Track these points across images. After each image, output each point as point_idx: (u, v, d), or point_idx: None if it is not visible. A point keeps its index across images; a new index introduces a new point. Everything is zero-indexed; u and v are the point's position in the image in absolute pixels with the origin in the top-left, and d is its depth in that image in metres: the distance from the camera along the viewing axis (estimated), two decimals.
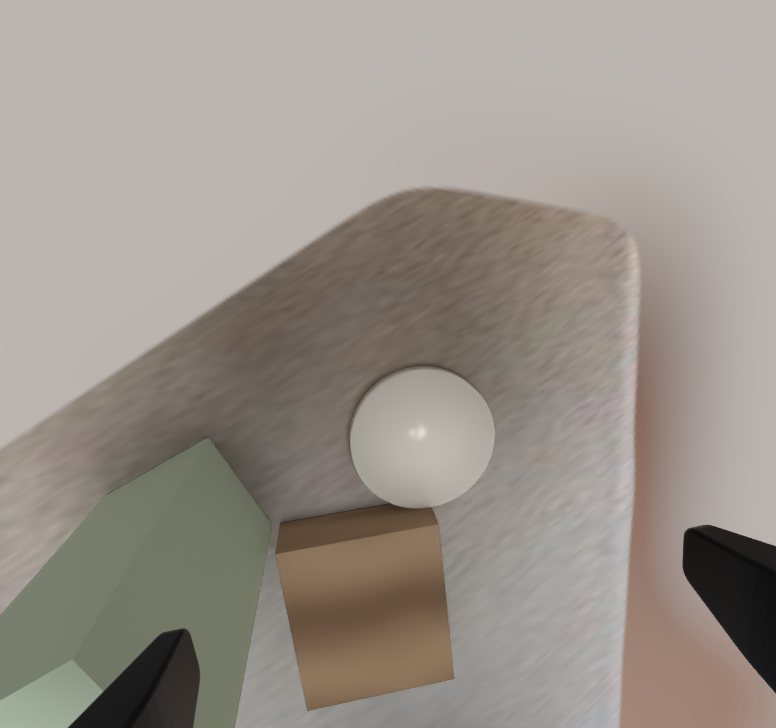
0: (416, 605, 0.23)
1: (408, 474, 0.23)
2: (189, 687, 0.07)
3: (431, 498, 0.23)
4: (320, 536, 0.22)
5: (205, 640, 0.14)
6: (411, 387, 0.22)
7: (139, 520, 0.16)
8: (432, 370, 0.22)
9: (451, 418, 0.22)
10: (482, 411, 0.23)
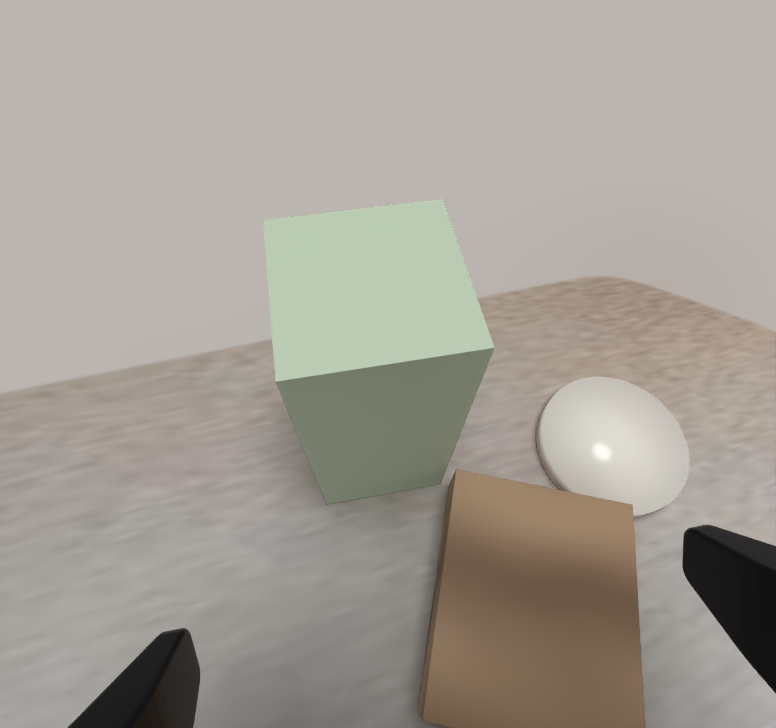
0: (598, 604, 0.18)
1: (595, 467, 0.22)
2: (189, 687, 0.07)
3: None
4: None
5: None
6: (606, 389, 0.24)
7: None
8: None
9: (643, 427, 0.23)
10: (675, 431, 0.23)
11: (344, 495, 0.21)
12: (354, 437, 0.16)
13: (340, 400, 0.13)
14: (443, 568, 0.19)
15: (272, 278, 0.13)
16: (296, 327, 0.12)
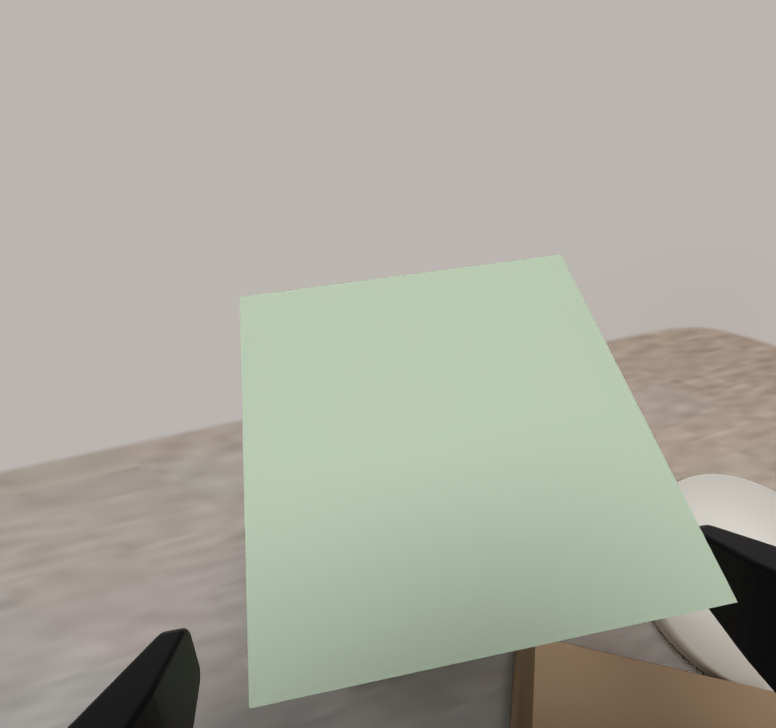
0: None
1: None
2: (189, 687, 0.07)
3: None
4: None
5: None
6: (727, 492, 0.18)
7: None
8: None
9: None
10: None
11: None
12: None
13: None
14: None
15: (252, 422, 0.07)
16: (298, 548, 0.06)
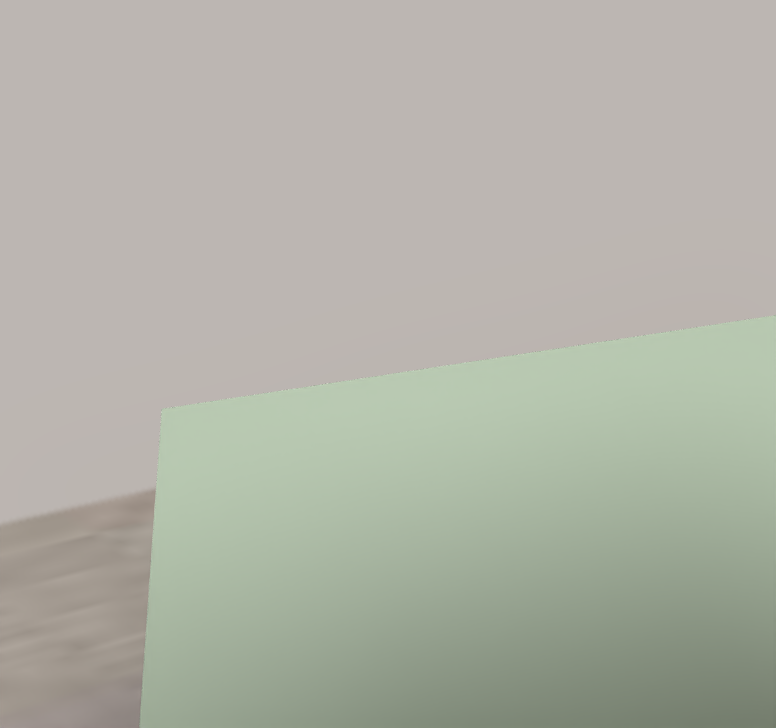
0: None
1: None
2: None
3: None
4: None
5: None
6: None
7: None
8: None
9: None
10: None
11: None
12: None
13: None
14: None
15: None
16: None
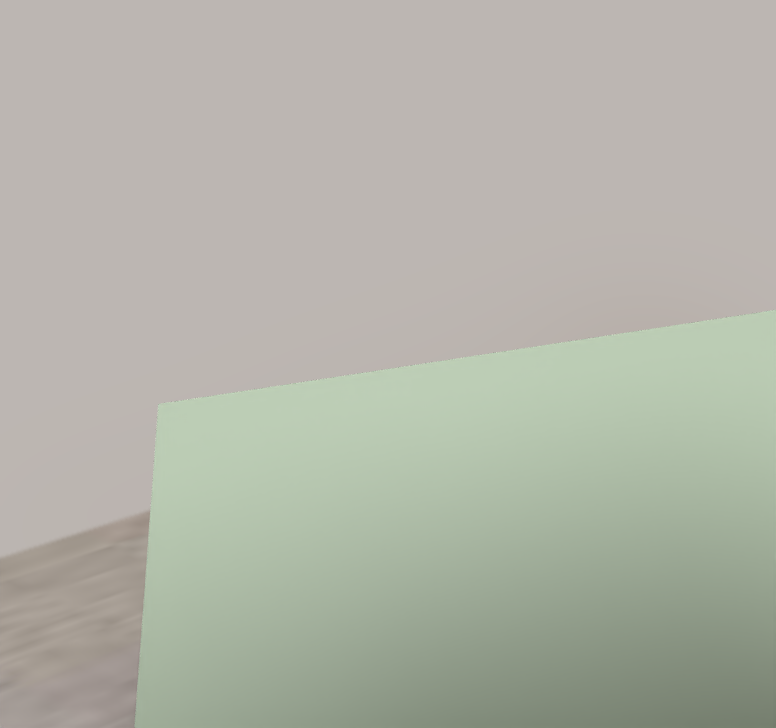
0: None
1: None
2: None
3: None
4: None
5: None
6: None
7: None
8: None
9: None
10: None
11: None
12: None
13: None
14: None
15: None
16: None
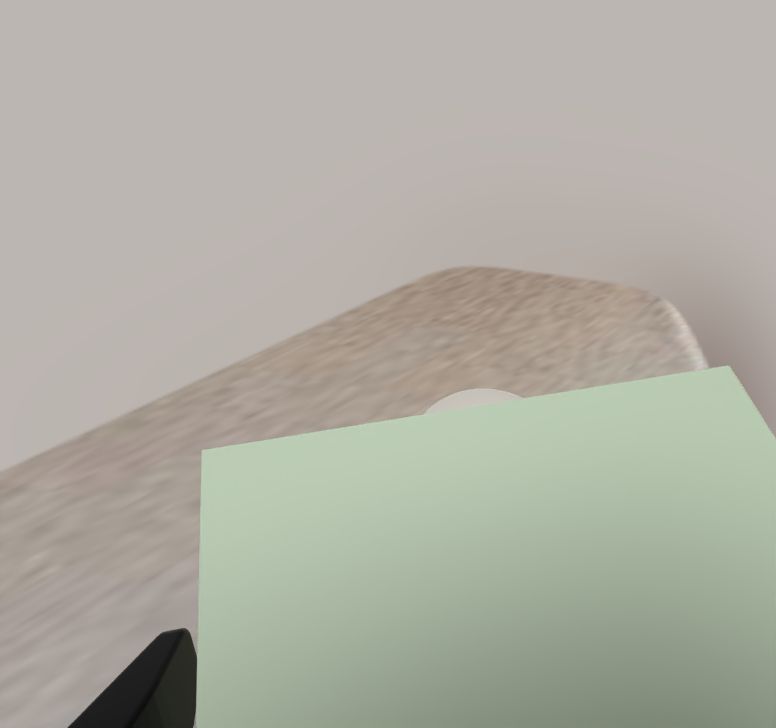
0: None
1: None
2: (189, 687, 0.07)
3: None
4: None
5: None
6: (471, 404, 0.20)
7: None
8: None
9: None
10: None
11: None
12: None
13: None
14: None
15: None
16: None
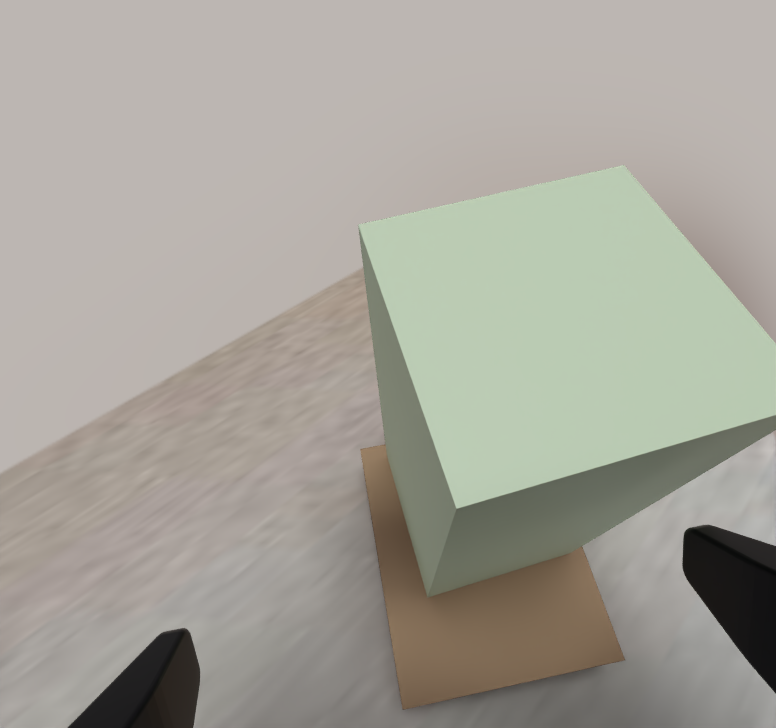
0: None
1: None
2: (189, 687, 0.07)
3: None
4: None
5: None
6: None
7: None
8: None
9: None
10: None
11: (454, 586, 0.16)
12: (514, 539, 0.10)
13: (532, 508, 0.08)
14: (377, 550, 0.18)
15: (397, 315, 0.08)
16: (462, 399, 0.07)
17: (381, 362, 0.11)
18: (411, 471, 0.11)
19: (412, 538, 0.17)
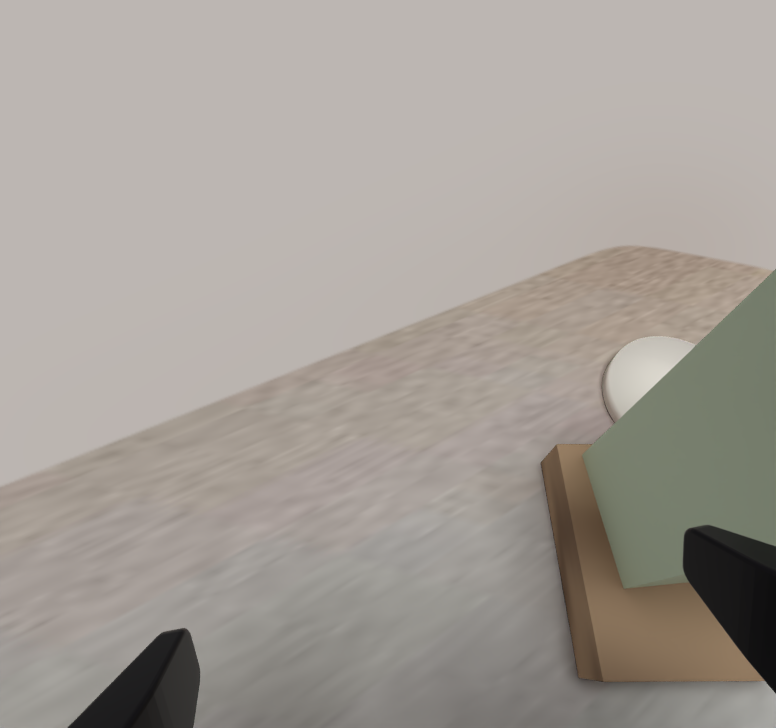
0: None
1: None
2: (189, 687, 0.07)
3: None
4: None
5: None
6: (656, 346, 0.26)
7: None
8: None
9: None
10: None
11: (659, 583, 0.18)
12: None
13: None
14: (575, 537, 0.20)
15: None
16: None
17: (711, 375, 0.13)
18: (732, 473, 0.13)
19: (620, 533, 0.18)
